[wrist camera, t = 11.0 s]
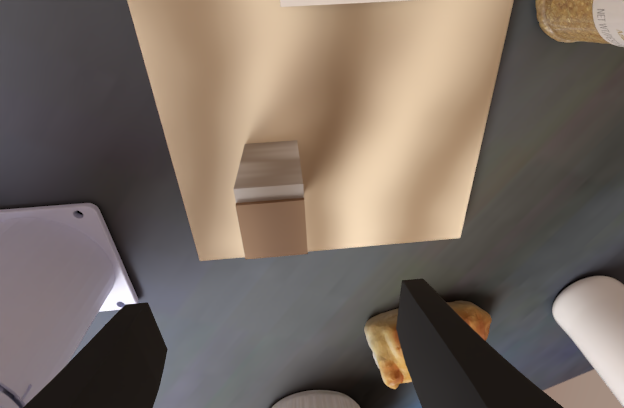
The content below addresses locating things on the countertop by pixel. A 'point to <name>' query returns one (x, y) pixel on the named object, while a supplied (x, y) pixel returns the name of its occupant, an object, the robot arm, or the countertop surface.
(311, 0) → the tile
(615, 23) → the sprinkles bottle
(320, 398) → the ramekin
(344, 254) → the countertop surface
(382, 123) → the board
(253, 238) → the tan wooden block
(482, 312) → the pastry
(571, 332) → the drinking glass
